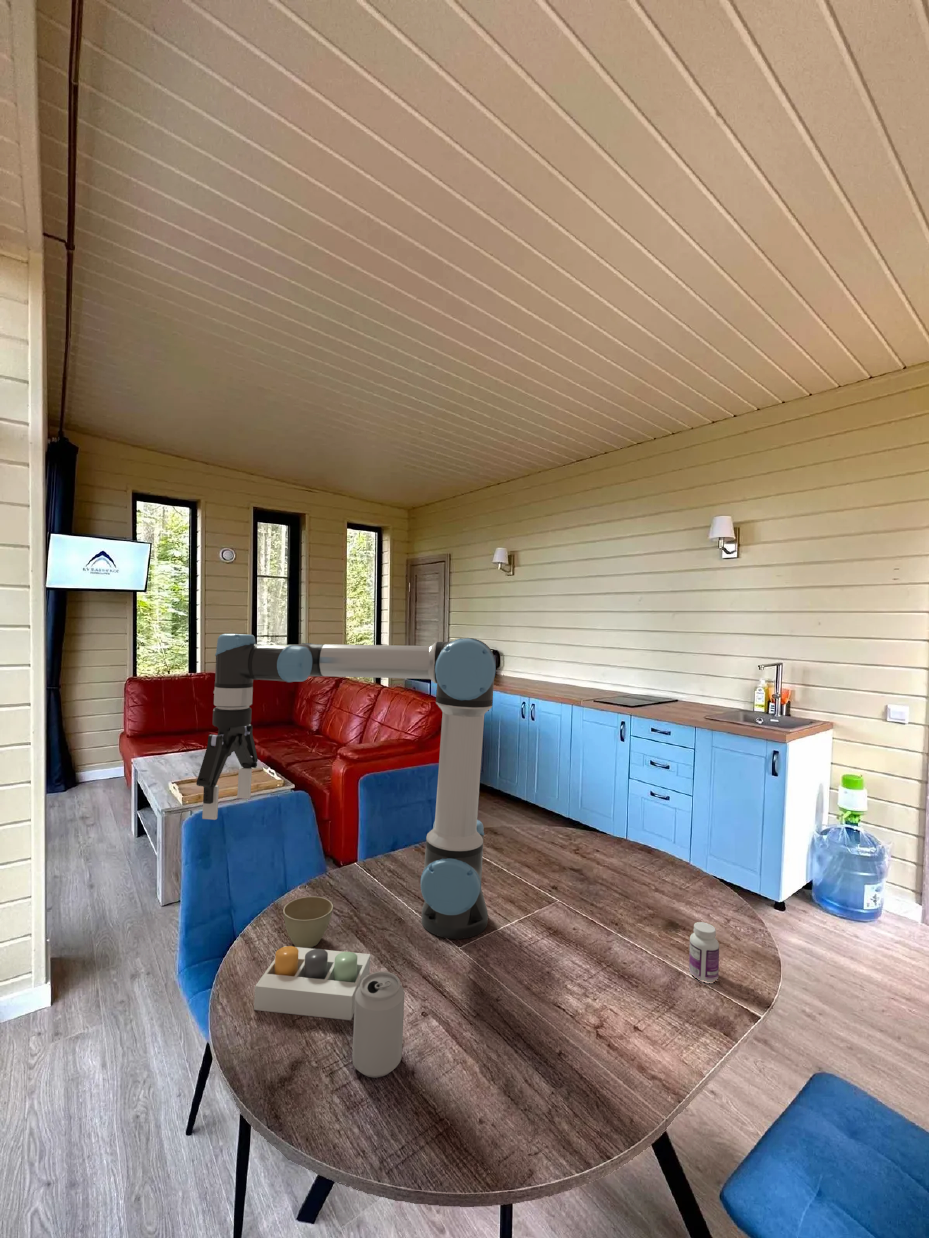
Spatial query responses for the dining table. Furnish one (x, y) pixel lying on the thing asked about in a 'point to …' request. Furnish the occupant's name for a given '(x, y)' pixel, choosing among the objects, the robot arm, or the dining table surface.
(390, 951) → the dining table surface
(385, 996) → the can
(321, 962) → the black button
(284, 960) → the orange rounded piece
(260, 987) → the white compartment box
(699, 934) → the pill bottle
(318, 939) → the flower pot
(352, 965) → the green button
